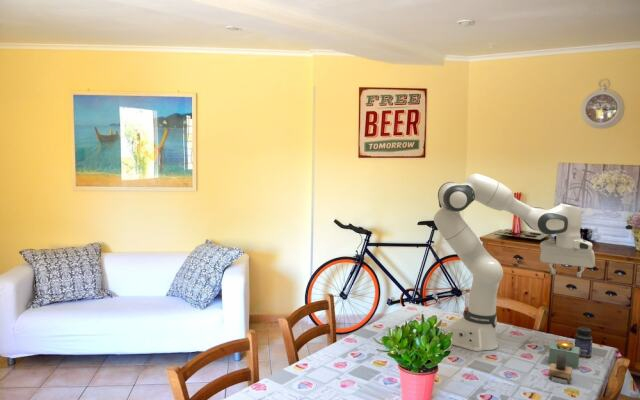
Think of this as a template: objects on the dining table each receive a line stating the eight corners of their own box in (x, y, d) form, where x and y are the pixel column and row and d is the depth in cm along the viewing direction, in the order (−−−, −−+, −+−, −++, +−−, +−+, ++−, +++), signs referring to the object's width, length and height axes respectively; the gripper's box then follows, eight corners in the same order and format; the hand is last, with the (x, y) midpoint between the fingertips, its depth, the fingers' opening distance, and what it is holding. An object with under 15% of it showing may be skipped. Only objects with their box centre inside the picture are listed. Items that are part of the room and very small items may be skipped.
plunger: (555, 358, 187) (556, 343, 186) (556, 353, 192) (557, 338, 191) (571, 362, 184) (572, 346, 184) (572, 356, 189) (573, 341, 188)
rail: (551, 381, 173) (551, 377, 173) (555, 365, 186) (555, 361, 185) (566, 384, 170) (567, 380, 170) (570, 368, 183) (570, 364, 183)
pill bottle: (593, 359, 191) (595, 332, 190) (576, 357, 193) (578, 331, 191) (588, 352, 197) (589, 326, 196) (572, 351, 199) (573, 325, 197)
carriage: (548, 378, 174) (550, 355, 173) (550, 371, 179) (551, 350, 178) (570, 383, 171) (571, 360, 170) (571, 376, 176) (573, 354, 175)
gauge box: (548, 362, 188) (549, 348, 187) (550, 356, 194) (551, 341, 193) (577, 368, 183) (578, 353, 182) (578, 362, 189) (579, 347, 188)
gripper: (539, 240, 200) (537, 273, 202) (596, 246, 190) (593, 280, 191) (541, 238, 206) (539, 270, 207) (596, 243, 195) (594, 276, 197)
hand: (566, 275), depth 199 cm, fingers open, 8 cm apart
